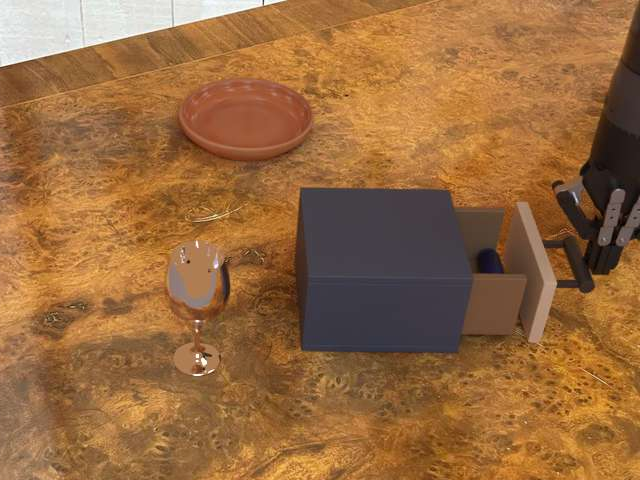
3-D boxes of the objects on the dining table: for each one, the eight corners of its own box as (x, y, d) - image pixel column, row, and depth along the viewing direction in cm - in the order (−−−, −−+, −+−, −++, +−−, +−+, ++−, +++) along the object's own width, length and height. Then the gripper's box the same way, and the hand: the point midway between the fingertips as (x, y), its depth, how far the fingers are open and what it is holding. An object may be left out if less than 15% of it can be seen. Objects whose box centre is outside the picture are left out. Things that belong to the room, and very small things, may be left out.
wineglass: (187, 329, 101) (186, 229, 93) (239, 351, 99) (243, 250, 91) (153, 366, 97) (150, 264, 89) (207, 389, 95) (208, 287, 87)
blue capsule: (471, 257, 107) (482, 241, 105) (491, 263, 107) (501, 247, 106) (488, 318, 100) (499, 301, 99) (509, 323, 100) (520, 307, 99)
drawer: (559, 260, 109) (576, 202, 104) (590, 343, 100) (610, 283, 95) (382, 257, 109) (390, 199, 104) (396, 341, 99) (406, 281, 95)
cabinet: (435, 261, 110) (449, 189, 104) (457, 353, 100) (473, 278, 94) (294, 259, 110) (300, 186, 104) (301, 351, 99) (308, 276, 93)
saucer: (324, 165, 123) (326, 143, 121) (186, 174, 121) (185, 151, 119) (299, 95, 135) (300, 74, 133) (173, 101, 133) (172, 80, 131)
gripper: (583, 133, 88) (537, 294, 99) (742, 137, 88) (678, 296, 99) (561, 87, 93) (520, 244, 105) (710, 91, 94) (654, 246, 105)
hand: (597, 269), depth 102 cm, fingers closed
